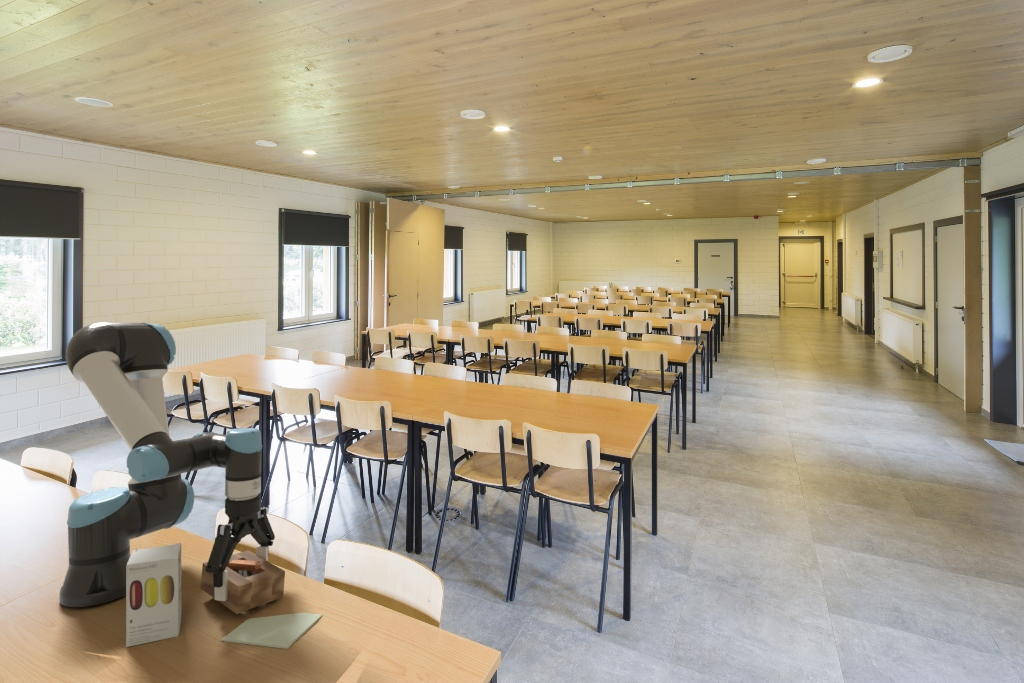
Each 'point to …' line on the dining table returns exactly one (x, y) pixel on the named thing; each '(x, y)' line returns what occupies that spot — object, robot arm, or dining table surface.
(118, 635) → the dining table surface
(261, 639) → the mat
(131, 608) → the supplement box
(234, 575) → the brown hollow elongated block
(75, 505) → the robot arm
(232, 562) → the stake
